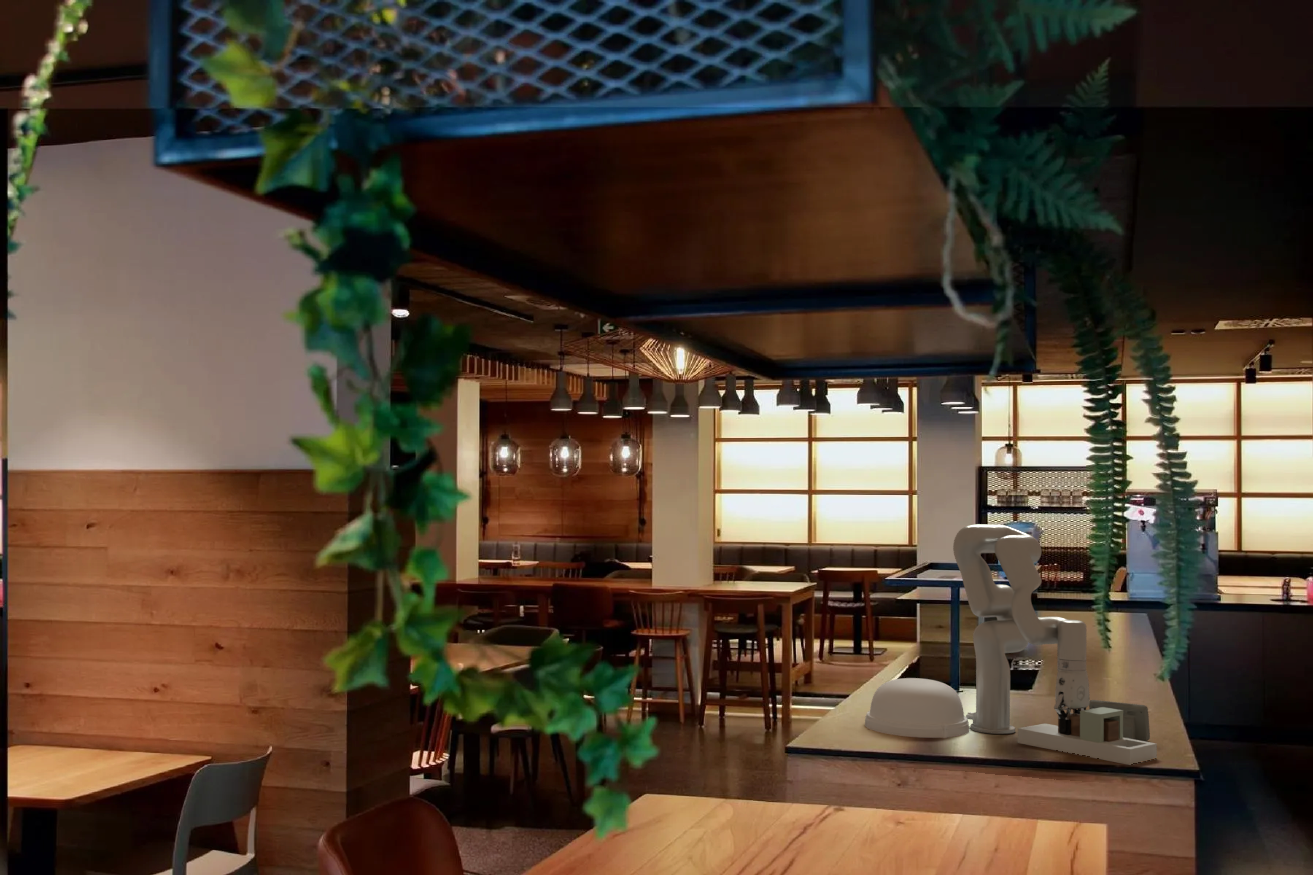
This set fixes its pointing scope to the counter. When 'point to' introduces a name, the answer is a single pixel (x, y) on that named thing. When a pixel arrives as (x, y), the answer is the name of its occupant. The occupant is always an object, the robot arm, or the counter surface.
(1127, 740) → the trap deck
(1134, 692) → the counter surface
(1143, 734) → the digital clock
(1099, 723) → the tunnel
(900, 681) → the dome cover
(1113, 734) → the walnut bar
